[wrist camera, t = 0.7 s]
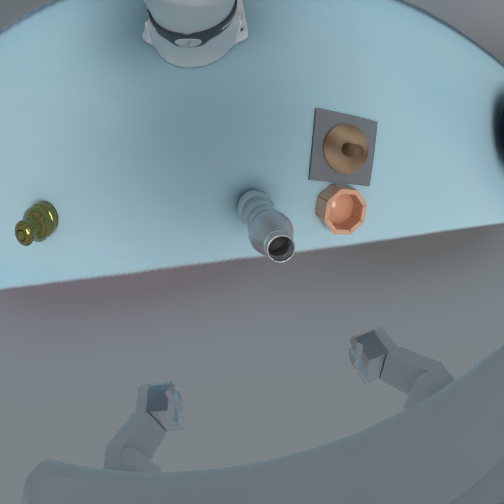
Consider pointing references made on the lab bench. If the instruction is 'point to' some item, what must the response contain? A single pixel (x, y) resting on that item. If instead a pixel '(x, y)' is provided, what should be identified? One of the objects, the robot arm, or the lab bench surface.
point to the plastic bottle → (266, 226)
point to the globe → (502, 129)
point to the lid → (345, 148)
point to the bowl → (341, 208)
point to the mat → (318, 164)
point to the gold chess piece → (36, 224)
